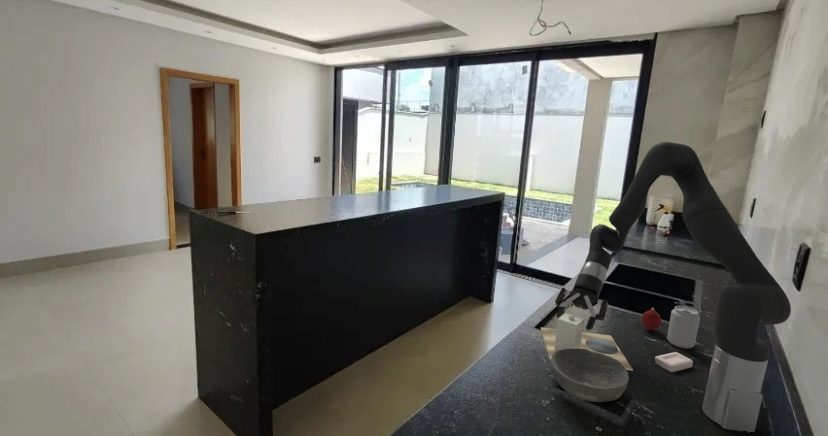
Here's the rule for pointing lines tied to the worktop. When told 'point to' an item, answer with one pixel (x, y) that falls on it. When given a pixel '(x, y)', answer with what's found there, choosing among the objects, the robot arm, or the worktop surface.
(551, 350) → the board
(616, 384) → the bowl
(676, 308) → the can
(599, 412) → the worktop surface
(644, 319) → the onion
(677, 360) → the soap bar
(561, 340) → the small milk carton
